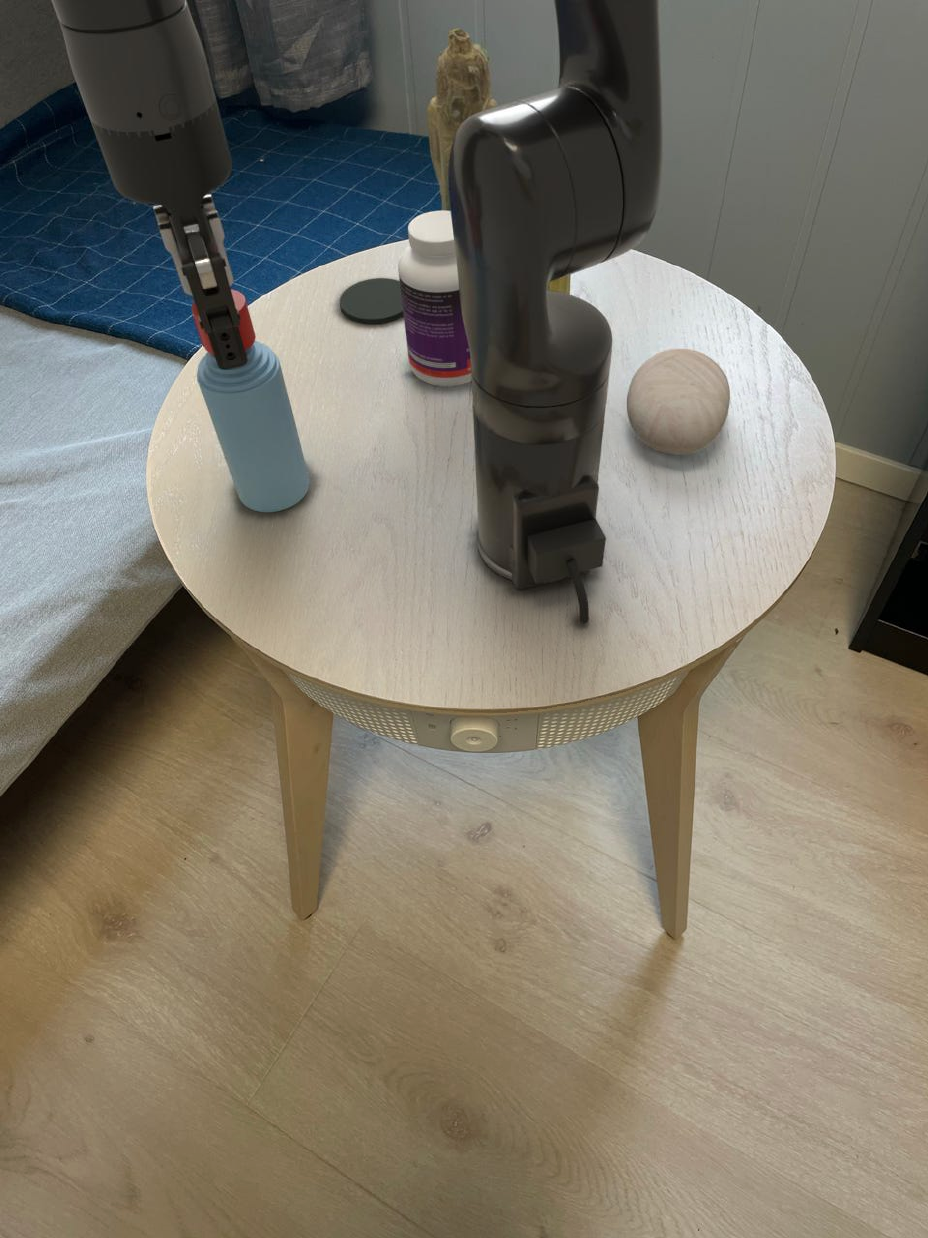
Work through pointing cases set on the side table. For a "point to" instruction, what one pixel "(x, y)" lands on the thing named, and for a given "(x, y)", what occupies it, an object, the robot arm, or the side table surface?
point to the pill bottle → (433, 302)
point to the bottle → (256, 429)
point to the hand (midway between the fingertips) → (227, 345)
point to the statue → (456, 99)
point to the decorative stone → (678, 401)
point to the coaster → (373, 301)
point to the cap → (245, 328)
